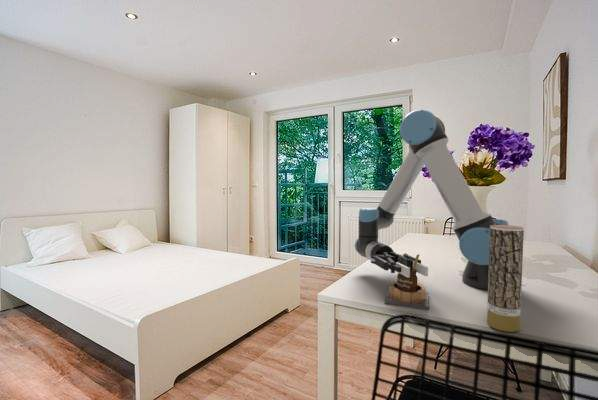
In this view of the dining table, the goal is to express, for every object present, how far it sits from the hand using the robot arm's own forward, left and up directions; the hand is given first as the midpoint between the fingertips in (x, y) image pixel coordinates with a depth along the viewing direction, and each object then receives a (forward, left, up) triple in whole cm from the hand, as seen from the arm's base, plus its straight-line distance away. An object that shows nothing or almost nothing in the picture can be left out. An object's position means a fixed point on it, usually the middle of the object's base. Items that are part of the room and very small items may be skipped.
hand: (417, 272), depth 89 cm
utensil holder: (+3, -4, -8) cm, 9 cm away
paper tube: (-20, +6, -10) cm, 23 cm away
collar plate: (+3, -4, -10) cm, 11 cm away
